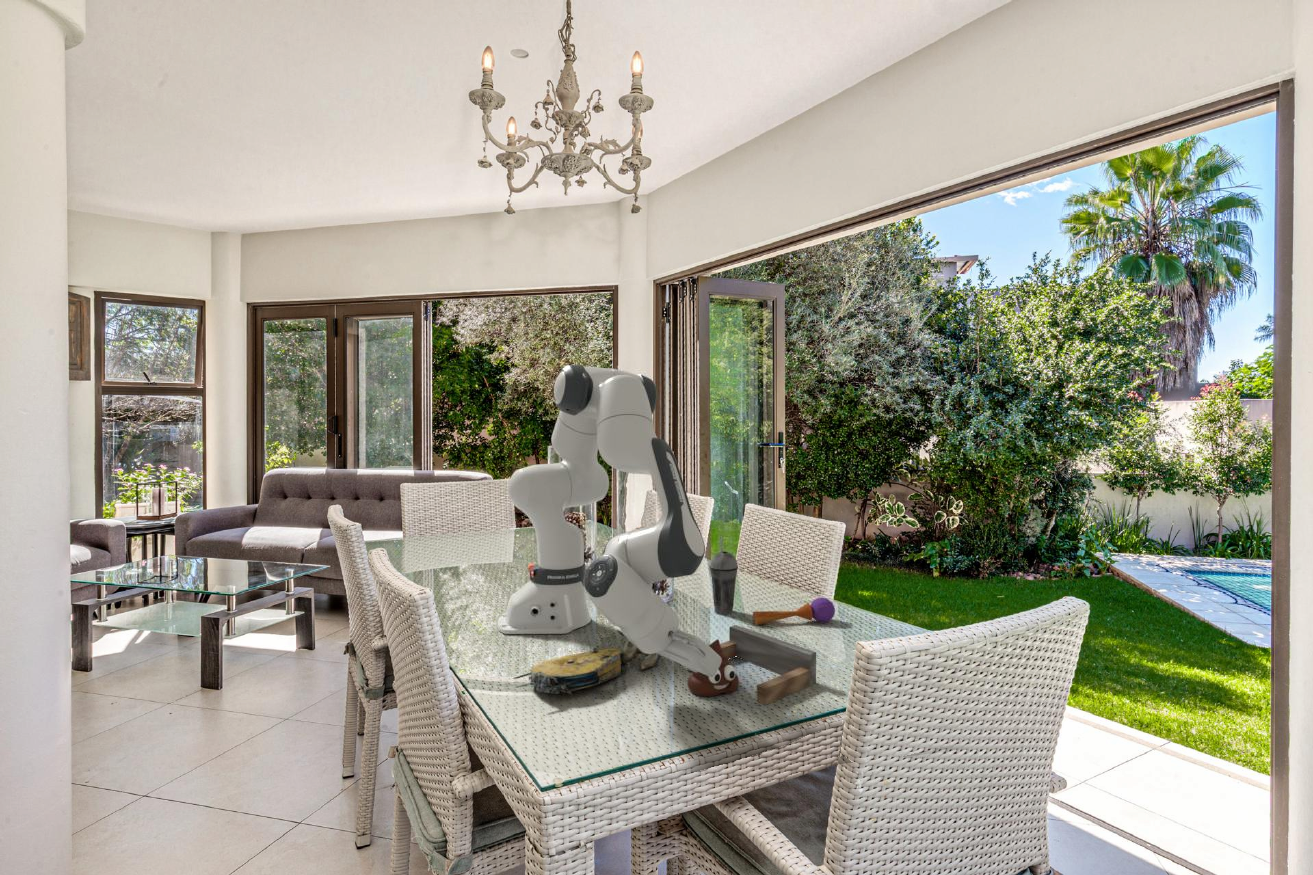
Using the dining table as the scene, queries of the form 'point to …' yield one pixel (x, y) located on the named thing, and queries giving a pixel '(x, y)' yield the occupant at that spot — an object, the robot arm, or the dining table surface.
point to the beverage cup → (723, 580)
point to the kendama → (799, 612)
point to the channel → (772, 662)
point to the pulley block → (585, 669)
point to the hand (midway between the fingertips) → (693, 666)
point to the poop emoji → (715, 677)
